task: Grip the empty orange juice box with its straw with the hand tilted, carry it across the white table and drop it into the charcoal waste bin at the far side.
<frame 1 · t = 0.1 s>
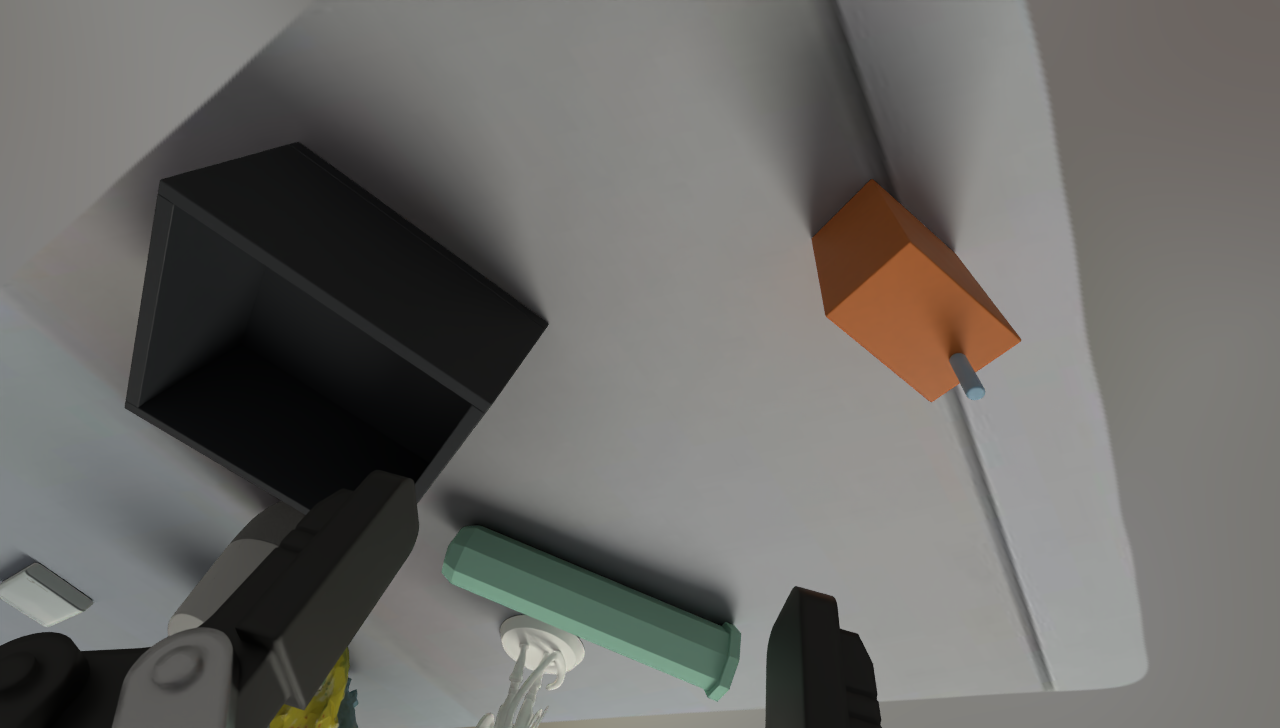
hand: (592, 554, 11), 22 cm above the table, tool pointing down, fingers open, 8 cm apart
sculpture: (331, 646, 65), on the table
figurine: (542, 640, 56), on the table
smart speaker: (321, 522, 52), on the table
bin: (381, 331, 38), on the table
juice box: (882, 246, 29), on the table
container: (596, 576, 48), on the table
hard drive: (50, 590, 72), on the table
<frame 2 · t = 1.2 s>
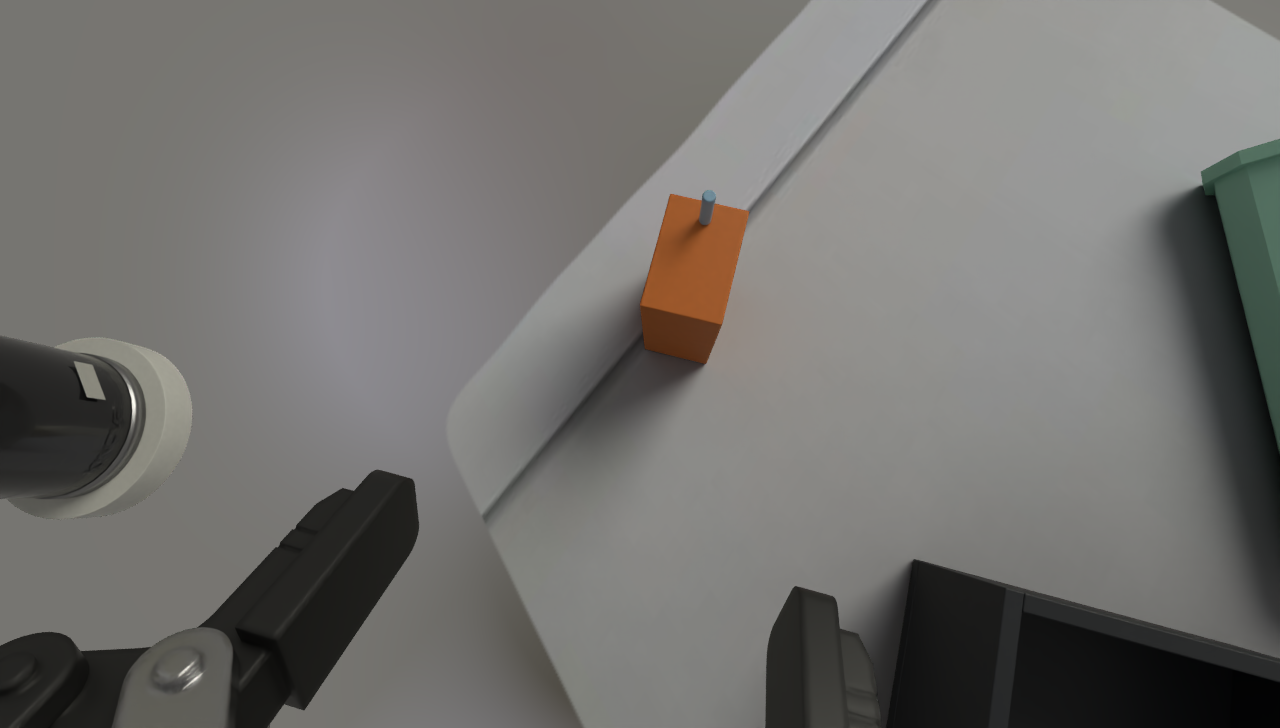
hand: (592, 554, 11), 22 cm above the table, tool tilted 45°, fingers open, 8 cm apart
juice box: (686, 312, 36), on the table
container: (1266, 372, 34), on the table
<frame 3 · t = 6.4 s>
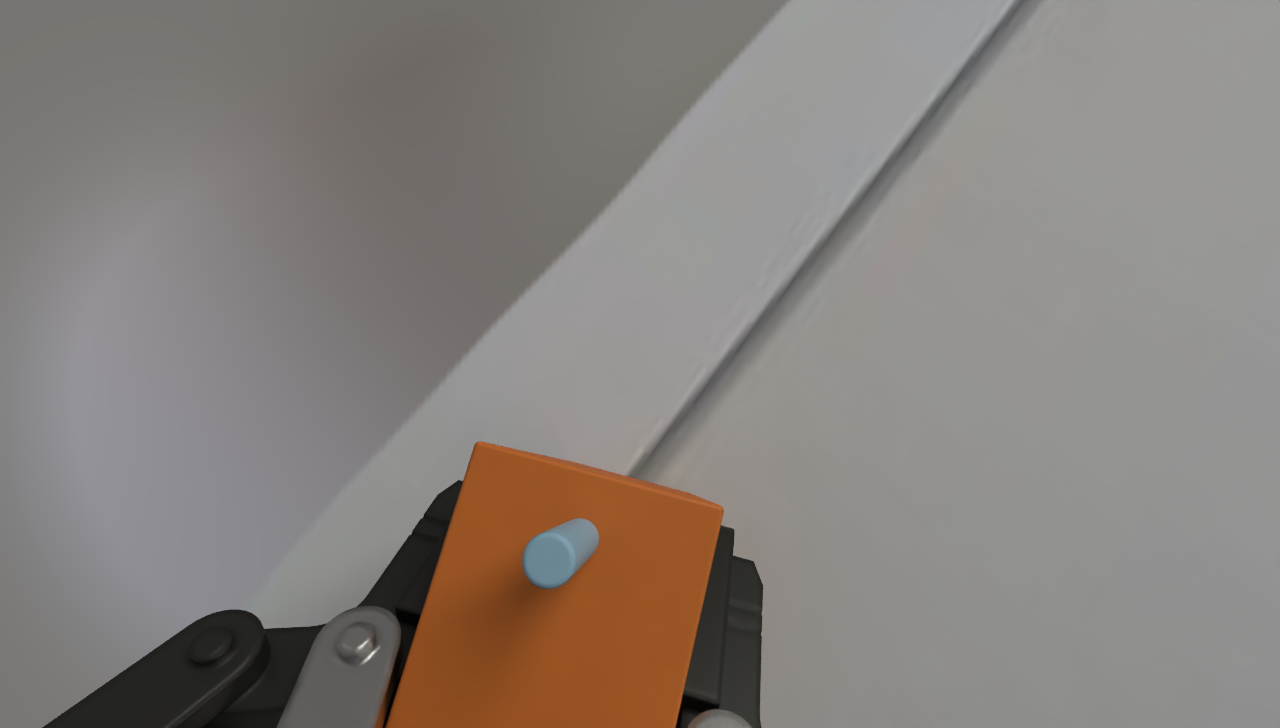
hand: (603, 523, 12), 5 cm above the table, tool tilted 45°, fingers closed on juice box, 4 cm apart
juice box: (604, 575, 17), on the table, touching gripper
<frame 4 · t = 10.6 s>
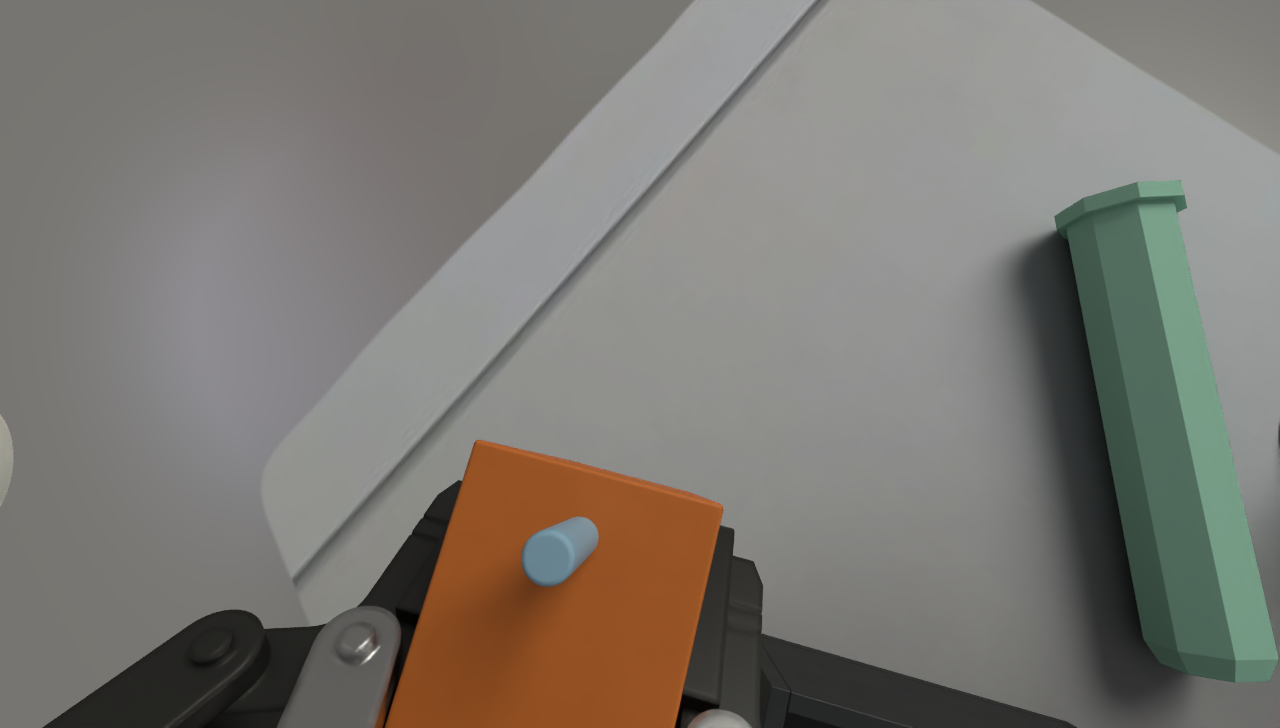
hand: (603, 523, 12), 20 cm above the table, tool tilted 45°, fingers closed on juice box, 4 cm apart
juice box: (604, 574, 17), point 15 cm above the table, touching gripper
container: (1118, 427, 32), on the table
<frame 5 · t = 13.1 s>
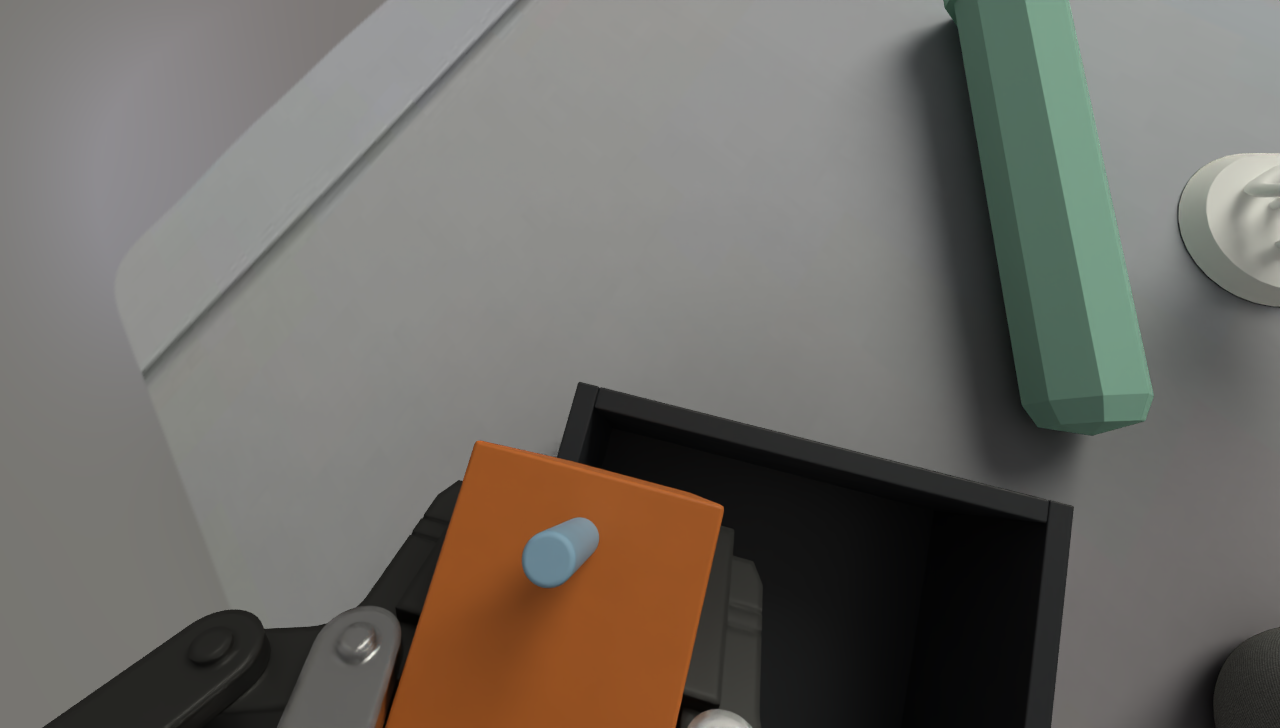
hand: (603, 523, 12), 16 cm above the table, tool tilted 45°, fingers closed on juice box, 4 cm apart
figurine: (1261, 229, 30), on the table
bin: (731, 633, 27), on the table
juice box: (604, 575, 17), point 11 cm above the table, touching gripper
container: (1008, 210, 31), on the table
when the fingers open (12 cm above the table, at t = 14.8 s): juice box drops 4 cm and tips over, resting on bin.
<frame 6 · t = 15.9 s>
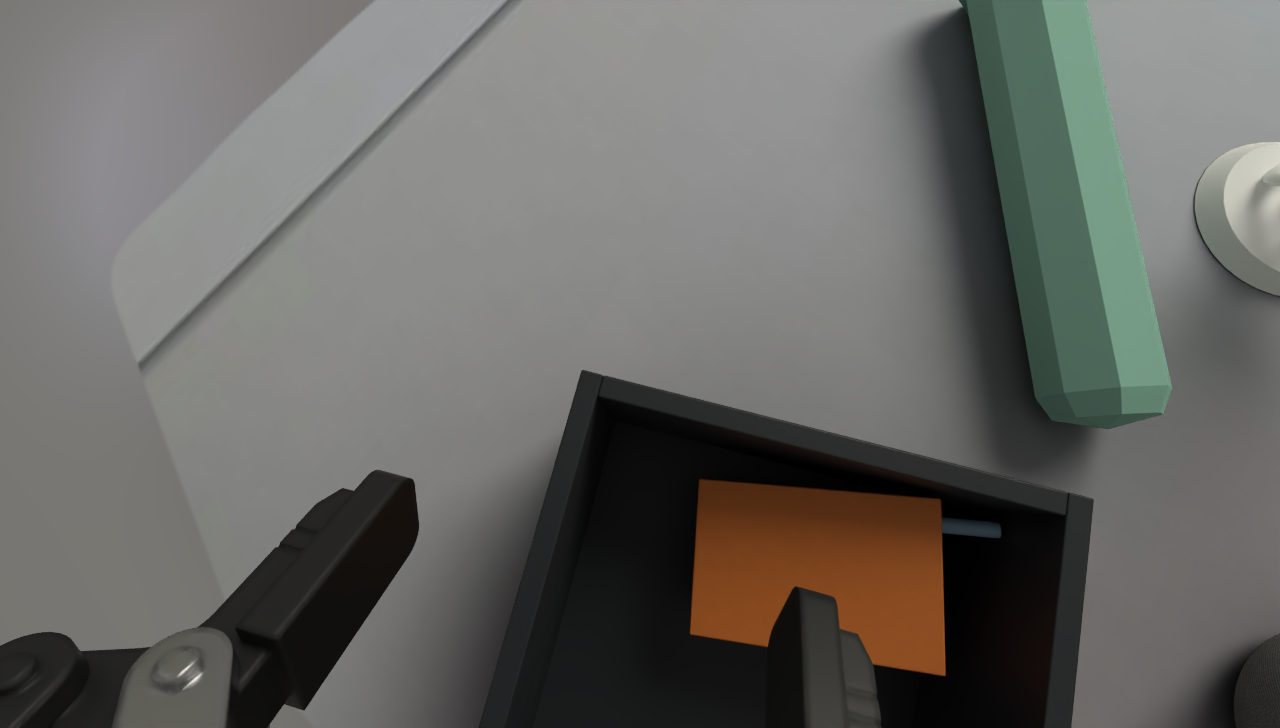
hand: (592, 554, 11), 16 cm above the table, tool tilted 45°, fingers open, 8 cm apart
figurine: (1279, 220, 29), on the table
bin: (737, 630, 26), on the table
juice box: (702, 549, 24), point 3 cm above the table, tilted 76°, touching bin
container: (1020, 200, 30), on the table
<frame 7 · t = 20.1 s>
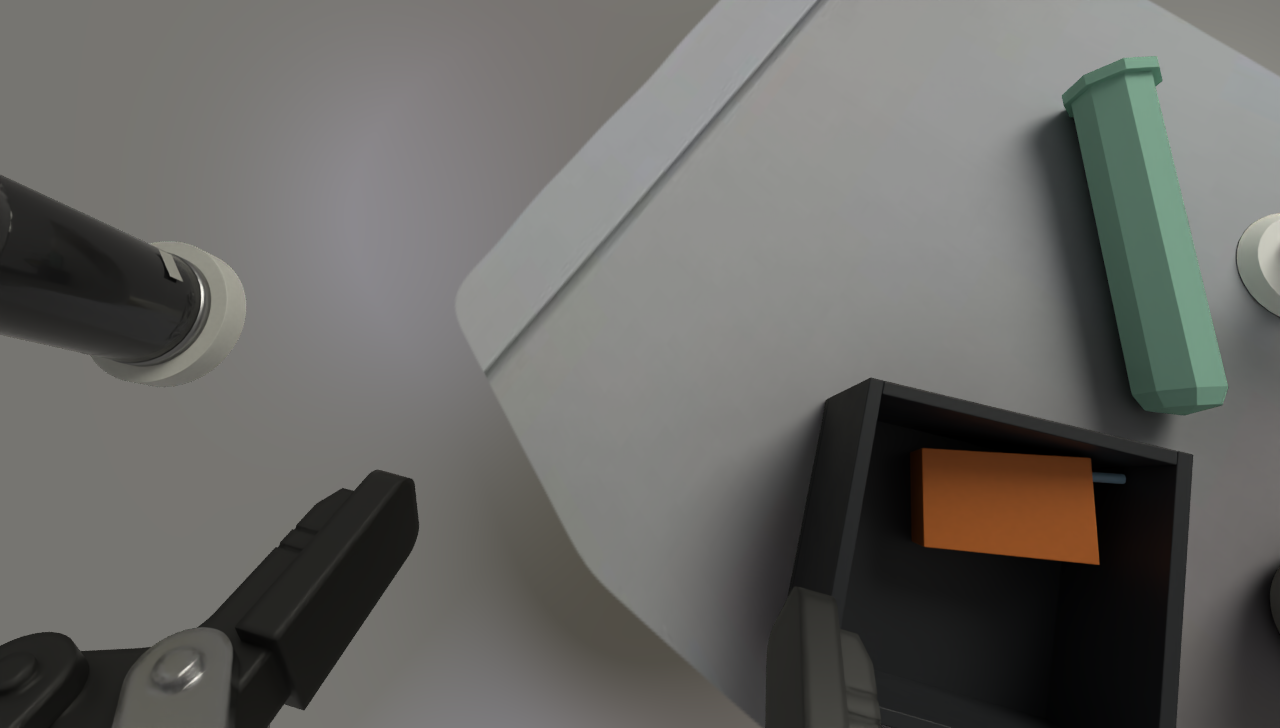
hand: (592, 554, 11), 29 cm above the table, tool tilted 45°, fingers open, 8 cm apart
bin: (929, 554, 38), on the table
juice box: (916, 496, 36), point 3 cm above the table, tilted 76°, touching bin
container: (1112, 254, 42), on the table
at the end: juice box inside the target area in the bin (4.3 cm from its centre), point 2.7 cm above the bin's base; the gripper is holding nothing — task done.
